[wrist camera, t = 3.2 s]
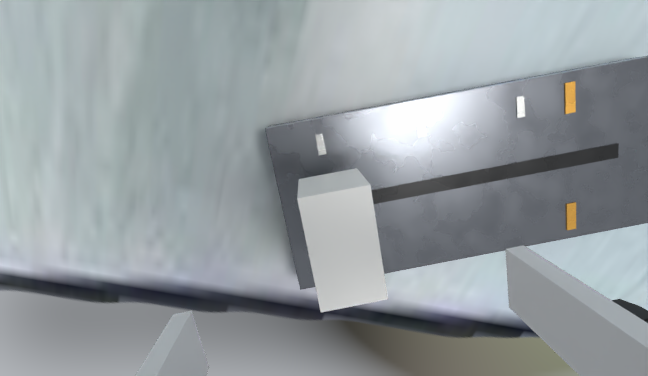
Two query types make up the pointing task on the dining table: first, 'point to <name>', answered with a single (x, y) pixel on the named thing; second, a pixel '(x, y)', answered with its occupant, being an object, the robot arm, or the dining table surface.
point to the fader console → (482, 164)
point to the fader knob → (342, 239)
